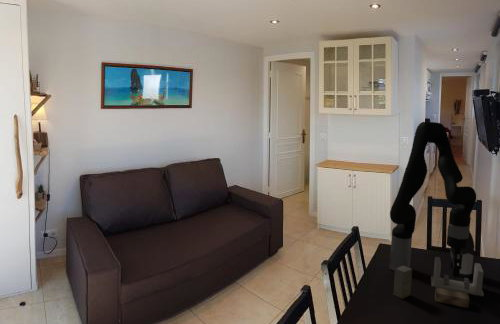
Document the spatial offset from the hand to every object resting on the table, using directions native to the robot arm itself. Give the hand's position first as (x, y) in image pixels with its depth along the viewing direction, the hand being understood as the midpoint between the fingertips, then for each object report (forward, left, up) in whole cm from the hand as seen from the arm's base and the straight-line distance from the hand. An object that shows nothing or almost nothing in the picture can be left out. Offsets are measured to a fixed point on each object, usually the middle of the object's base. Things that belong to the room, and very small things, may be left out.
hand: (454, 272), depth 147 cm
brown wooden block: (0, 0, -13) cm, 13 cm away
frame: (+3, +15, -13) cm, 20 cm away
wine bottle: (+7, +31, -13) cm, 34 cm away
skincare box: (-19, -3, -13) cm, 24 cm away
